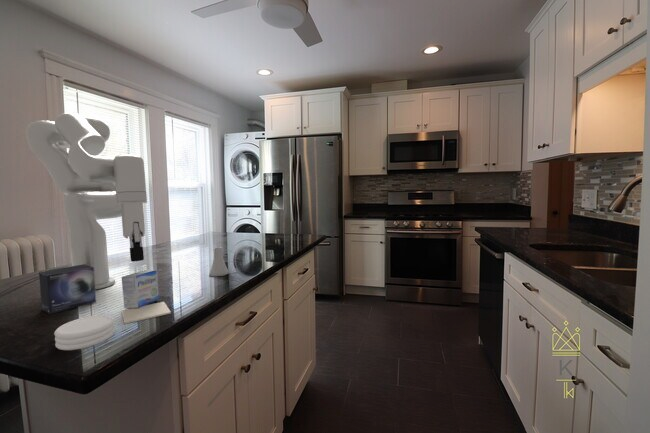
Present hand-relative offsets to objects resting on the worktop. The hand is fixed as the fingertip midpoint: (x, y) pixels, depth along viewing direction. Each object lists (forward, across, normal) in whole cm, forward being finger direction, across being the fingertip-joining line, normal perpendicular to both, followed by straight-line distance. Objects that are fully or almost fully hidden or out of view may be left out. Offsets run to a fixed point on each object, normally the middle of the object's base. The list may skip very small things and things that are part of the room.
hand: (137, 260), depth 91 cm
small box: (+11, -4, -16) cm, 20 cm away
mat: (+11, +15, 0) cm, 19 cm away
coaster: (+12, +24, -12) cm, 29 cm away
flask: (+11, -10, +26) cm, 30 cm away
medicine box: (+11, +8, 0) cm, 14 cm away
